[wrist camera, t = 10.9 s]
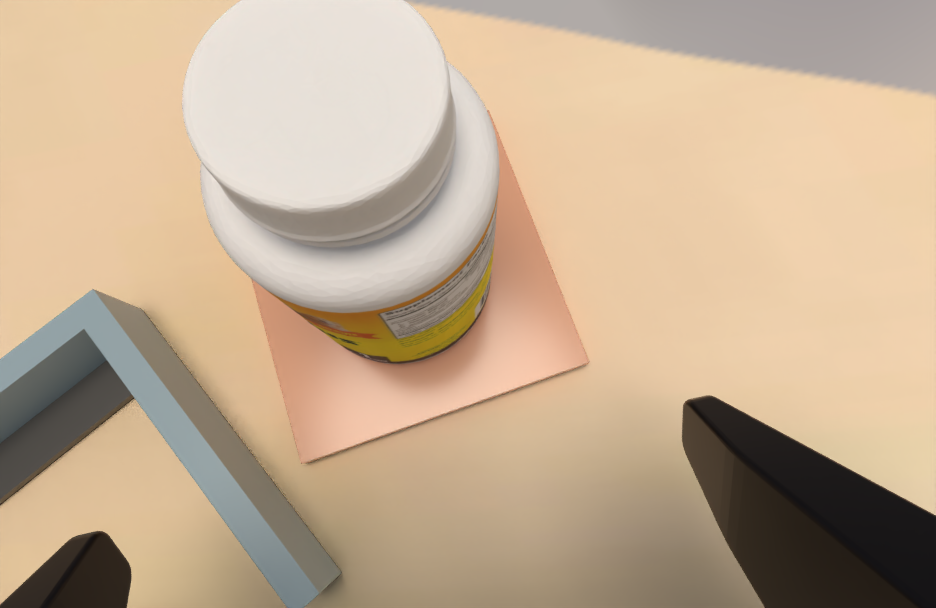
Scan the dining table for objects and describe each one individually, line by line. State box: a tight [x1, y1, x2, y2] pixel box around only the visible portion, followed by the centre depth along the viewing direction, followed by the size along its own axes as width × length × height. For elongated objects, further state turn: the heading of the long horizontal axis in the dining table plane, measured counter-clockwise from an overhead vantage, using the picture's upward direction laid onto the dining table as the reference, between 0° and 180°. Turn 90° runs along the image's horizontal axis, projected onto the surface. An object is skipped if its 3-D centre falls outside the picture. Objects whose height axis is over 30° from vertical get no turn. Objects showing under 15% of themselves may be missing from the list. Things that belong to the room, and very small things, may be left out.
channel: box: [0, 289, 342, 608], centre depth 16 cm, size 10×11×2 cm
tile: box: [252, 110, 589, 464], centre depth 19 cm, size 9×9×1 cm
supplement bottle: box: [182, 0, 500, 364], centre depth 14 cm, size 6×6×10 cm
